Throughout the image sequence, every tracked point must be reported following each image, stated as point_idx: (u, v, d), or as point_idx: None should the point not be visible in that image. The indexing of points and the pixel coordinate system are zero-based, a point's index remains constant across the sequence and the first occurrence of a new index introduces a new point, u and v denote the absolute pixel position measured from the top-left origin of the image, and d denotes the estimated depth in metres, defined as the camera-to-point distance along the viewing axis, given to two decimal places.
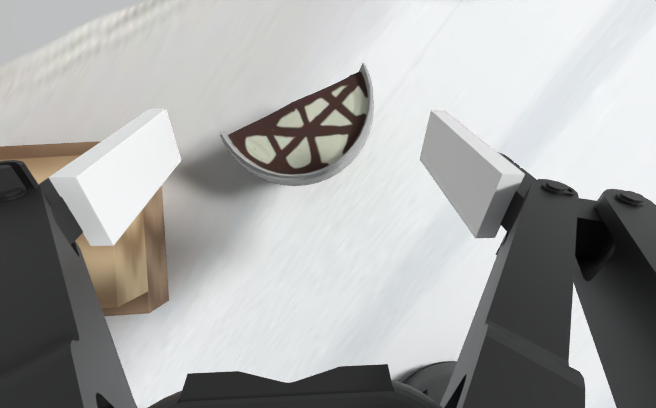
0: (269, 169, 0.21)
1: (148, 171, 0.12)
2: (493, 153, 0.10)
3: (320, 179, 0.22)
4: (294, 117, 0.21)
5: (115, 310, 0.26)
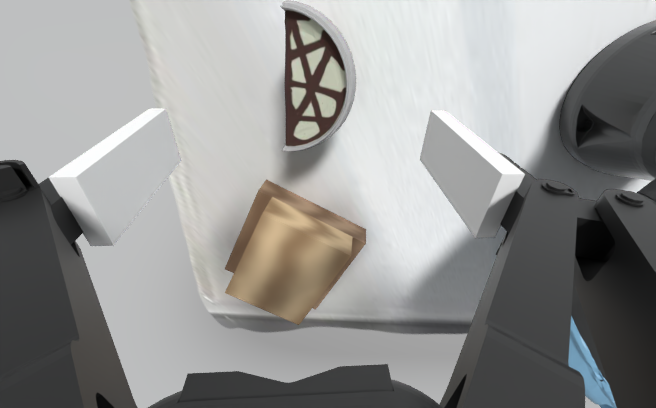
0: (323, 132, 0.26)
1: (148, 171, 0.12)
2: (493, 153, 0.10)
3: (352, 99, 0.25)
4: (296, 92, 0.25)
5: (352, 256, 0.41)
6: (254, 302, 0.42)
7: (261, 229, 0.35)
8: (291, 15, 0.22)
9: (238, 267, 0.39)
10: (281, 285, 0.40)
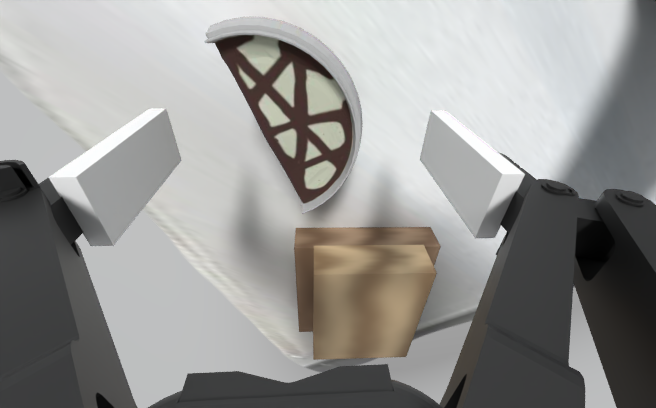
0: (342, 167, 0.19)
1: (148, 171, 0.12)
2: (493, 153, 0.10)
3: (359, 108, 0.17)
4: (284, 138, 0.17)
5: None
6: (348, 355, 0.37)
7: (321, 290, 0.29)
8: (226, 45, 0.14)
9: (315, 333, 0.33)
10: (369, 330, 0.33)
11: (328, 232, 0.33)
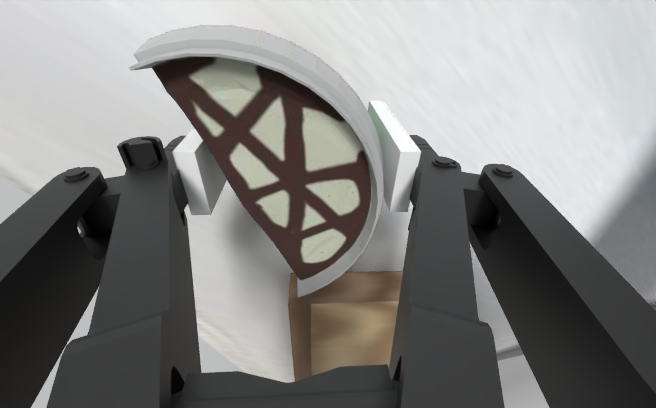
0: (355, 237, 0.13)
1: None
2: (403, 135, 0.12)
3: (381, 158, 0.12)
4: (271, 204, 0.12)
5: None
6: None
7: (320, 363, 0.23)
8: (171, 72, 0.09)
9: None
10: None
11: None
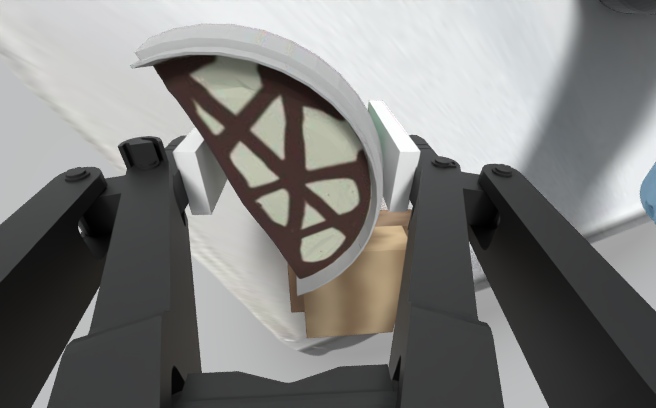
0: (354, 236, 0.13)
1: None
2: (403, 135, 0.12)
3: (381, 157, 0.12)
4: (271, 203, 0.12)
5: None
6: (339, 333, 0.39)
7: None
8: (172, 70, 0.09)
9: (306, 312, 0.36)
10: (356, 307, 0.36)
11: None
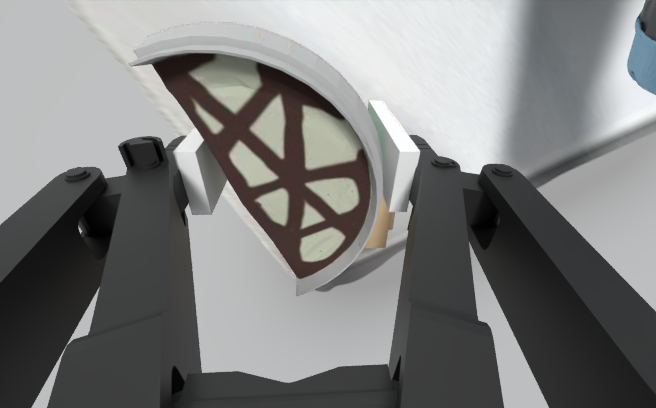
0: (354, 236, 0.13)
1: None
2: (403, 135, 0.12)
3: (381, 156, 0.12)
4: (270, 202, 0.12)
5: None
6: None
7: None
8: (171, 68, 0.09)
9: None
10: None
11: None
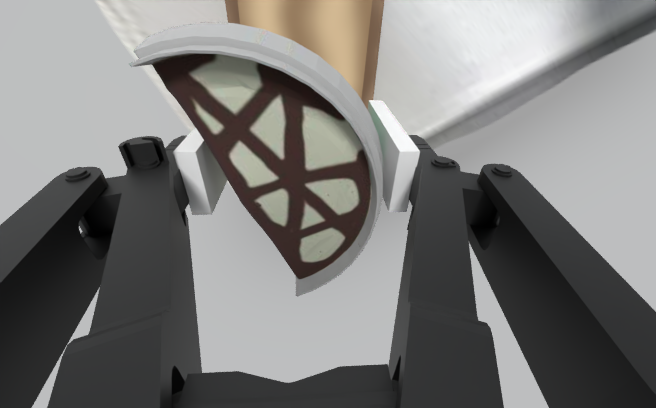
0: (354, 237, 0.13)
1: None
2: (403, 135, 0.12)
3: (381, 157, 0.12)
4: (270, 202, 0.12)
5: (378, 12, 0.30)
6: None
7: (246, 2, 0.26)
8: (171, 68, 0.09)
9: None
10: None
11: None
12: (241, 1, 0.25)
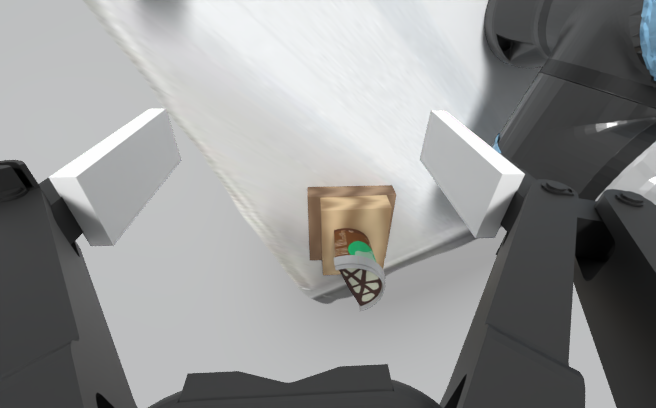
0: (377, 295, 0.47)
1: (148, 171, 0.12)
2: (493, 153, 0.10)
3: (384, 276, 0.46)
4: (356, 288, 0.46)
5: None
6: None
7: (325, 221, 0.50)
8: None
9: (323, 253, 0.54)
10: None
11: (328, 188, 0.53)
12: (323, 221, 0.50)
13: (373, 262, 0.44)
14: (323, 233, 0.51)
